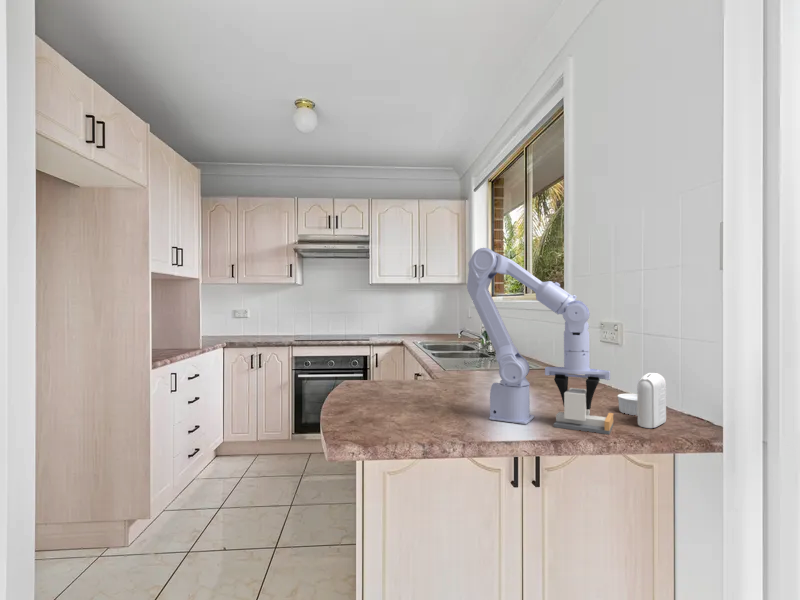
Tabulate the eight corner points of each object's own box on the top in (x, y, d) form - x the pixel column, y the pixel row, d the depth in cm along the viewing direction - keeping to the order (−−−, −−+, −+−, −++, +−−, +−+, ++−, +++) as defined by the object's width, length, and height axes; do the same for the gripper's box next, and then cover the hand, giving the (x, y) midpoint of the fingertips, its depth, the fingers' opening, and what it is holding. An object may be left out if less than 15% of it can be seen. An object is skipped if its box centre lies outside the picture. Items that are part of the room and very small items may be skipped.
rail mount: (553, 427, 105) (553, 415, 106) (561, 418, 113) (561, 407, 113) (609, 434, 99) (609, 421, 99) (613, 424, 107) (613, 413, 107)
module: (564, 418, 105) (564, 392, 105) (570, 411, 112) (570, 387, 112) (584, 420, 103) (584, 394, 103) (589, 414, 110) (589, 388, 110)
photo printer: (649, 418, 113) (649, 369, 113) (668, 421, 110) (668, 371, 110) (634, 426, 106) (634, 374, 106) (654, 430, 103) (654, 376, 103)
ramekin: (642, 408, 124) (642, 393, 124) (662, 416, 115) (662, 400, 115) (611, 409, 124) (611, 393, 124) (628, 417, 115) (628, 400, 115)
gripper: (611, 350, 107) (612, 407, 107) (549, 347, 114) (549, 400, 114) (608, 353, 101) (608, 413, 101) (542, 350, 108) (543, 406, 108)
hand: (577, 407), depth 107 cm, fingers closed on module, 4 cm apart
